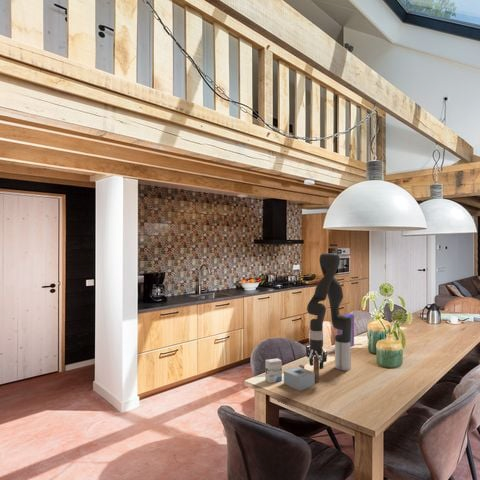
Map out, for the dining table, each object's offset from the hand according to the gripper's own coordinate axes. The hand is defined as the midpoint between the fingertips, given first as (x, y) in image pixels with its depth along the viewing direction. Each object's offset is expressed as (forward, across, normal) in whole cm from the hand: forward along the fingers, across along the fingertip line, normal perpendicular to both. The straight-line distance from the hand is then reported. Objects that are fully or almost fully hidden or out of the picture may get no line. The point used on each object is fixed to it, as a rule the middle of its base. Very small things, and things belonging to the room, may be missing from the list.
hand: (316, 367), depth 201 cm
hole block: (+8, +3, +11) cm, 14 cm away
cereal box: (+8, +30, -70) cm, 77 cm away
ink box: (+8, +16, +18) cm, 26 cm away
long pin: (+8, 0, 0) cm, 8 cm away
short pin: (+8, +11, 0) cm, 14 cm away
